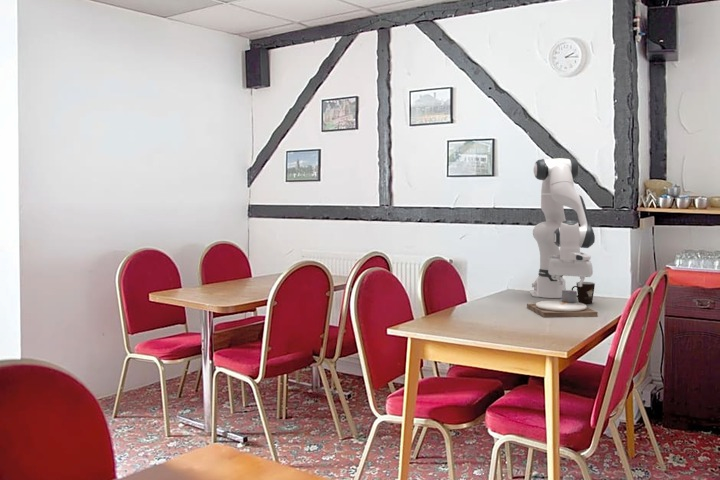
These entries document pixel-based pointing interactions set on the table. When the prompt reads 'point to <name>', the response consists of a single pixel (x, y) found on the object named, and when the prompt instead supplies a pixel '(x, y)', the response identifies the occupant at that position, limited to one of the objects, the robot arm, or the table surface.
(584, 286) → the coffee mug
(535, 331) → the table surface
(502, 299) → the table surface
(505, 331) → the table surface
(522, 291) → the table surface
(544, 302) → the dial
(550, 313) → the base
